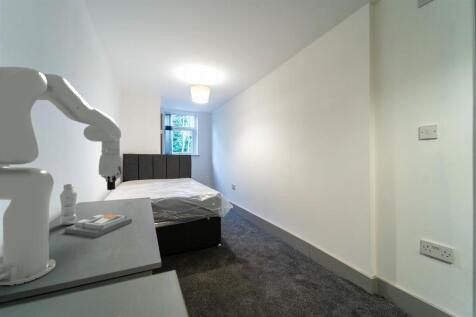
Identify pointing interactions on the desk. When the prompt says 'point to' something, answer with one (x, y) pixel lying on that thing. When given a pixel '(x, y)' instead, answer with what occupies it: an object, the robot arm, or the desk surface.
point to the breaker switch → (106, 219)
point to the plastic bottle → (68, 205)
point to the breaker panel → (97, 226)
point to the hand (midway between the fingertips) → (111, 189)
